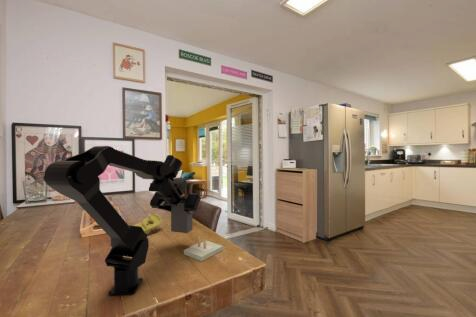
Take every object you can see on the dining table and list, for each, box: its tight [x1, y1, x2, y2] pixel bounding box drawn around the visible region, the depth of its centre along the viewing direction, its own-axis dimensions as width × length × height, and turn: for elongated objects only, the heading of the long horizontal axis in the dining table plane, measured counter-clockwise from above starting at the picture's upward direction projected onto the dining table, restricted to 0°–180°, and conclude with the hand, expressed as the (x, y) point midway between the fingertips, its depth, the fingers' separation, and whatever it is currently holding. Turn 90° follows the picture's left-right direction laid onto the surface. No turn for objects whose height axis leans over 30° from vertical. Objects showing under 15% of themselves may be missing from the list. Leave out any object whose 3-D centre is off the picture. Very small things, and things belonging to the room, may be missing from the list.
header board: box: [183, 238, 224, 262], centre depth 79 cm, size 11×9×4 cm
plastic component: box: [131, 212, 163, 235], centre depth 99 cm, size 20×7×10 cm
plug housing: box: [170, 203, 193, 234], centre depth 84 cm, size 4×7×12 cm, turn 73°
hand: (183, 212), depth 85 cm, fingers closed on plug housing, 7 cm apart
